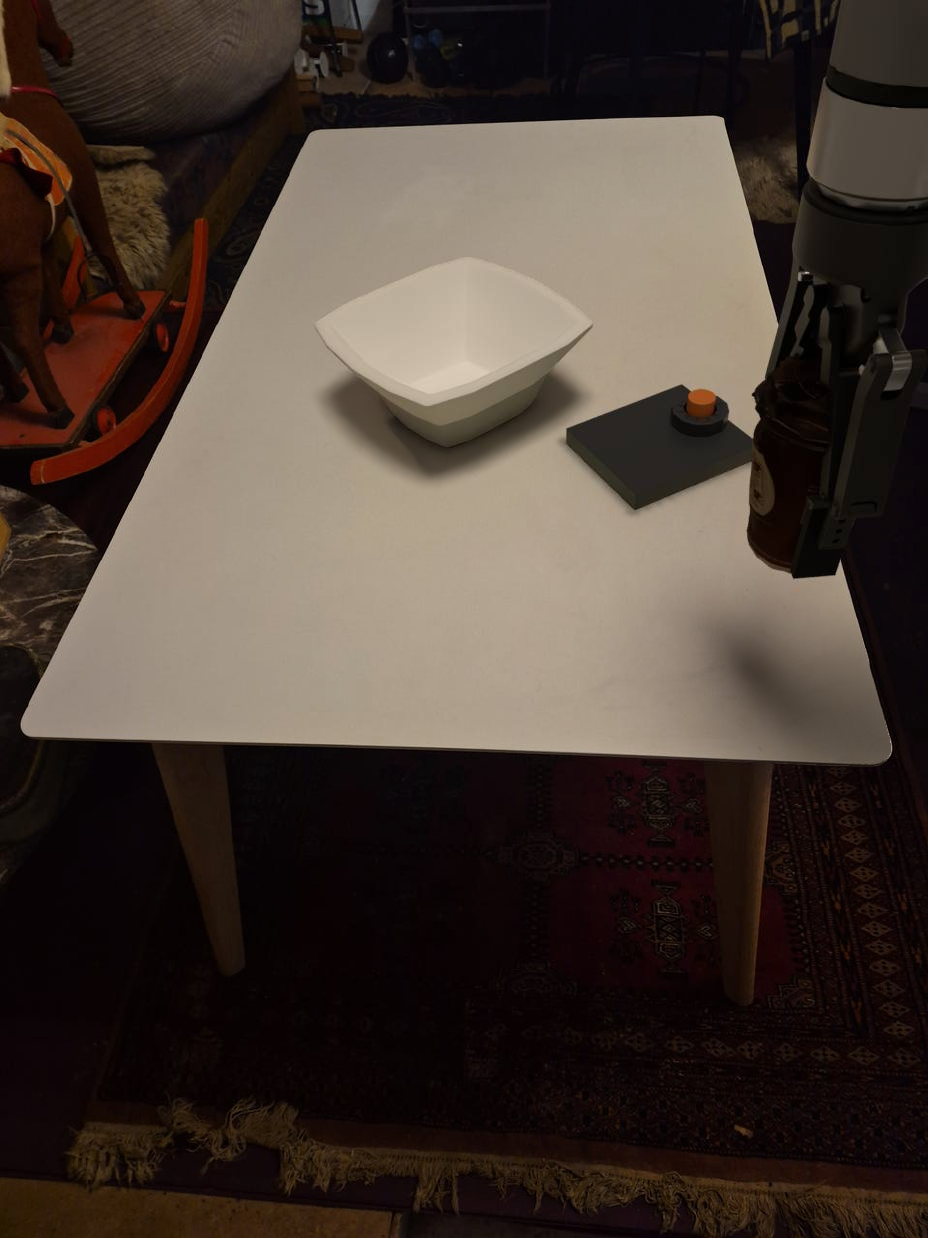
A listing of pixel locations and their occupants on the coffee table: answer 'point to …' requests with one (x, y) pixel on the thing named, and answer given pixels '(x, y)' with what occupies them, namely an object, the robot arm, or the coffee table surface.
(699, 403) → the button
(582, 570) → the coffee table surface
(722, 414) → the scale
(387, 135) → the coffee table surface
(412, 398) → the bowl
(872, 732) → the coffee table surface
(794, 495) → the coffee cup
